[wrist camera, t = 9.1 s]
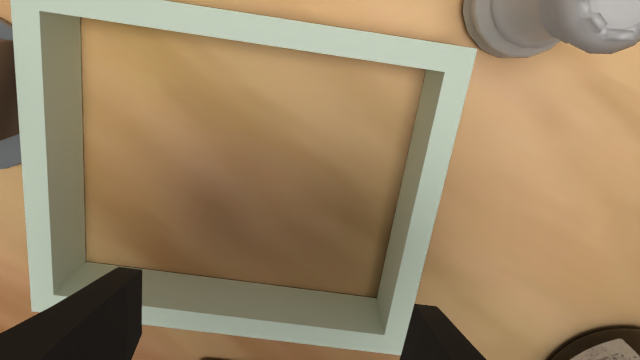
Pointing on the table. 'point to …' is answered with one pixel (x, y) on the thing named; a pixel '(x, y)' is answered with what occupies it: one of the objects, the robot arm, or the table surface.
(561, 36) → the rook chess piece
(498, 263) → the table surface
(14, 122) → the block
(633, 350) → the ink bottle
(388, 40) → the green rectangular frame
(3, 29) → the coaster
